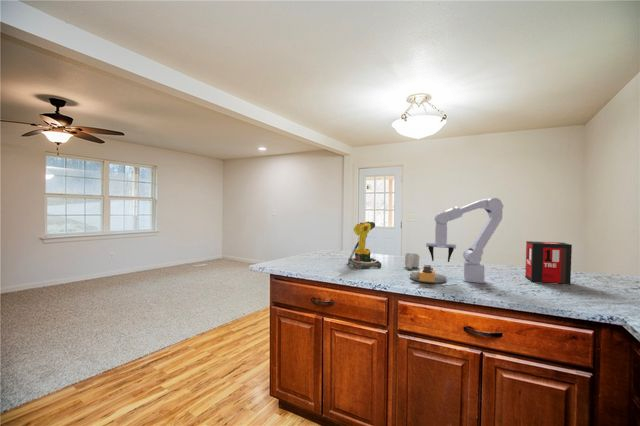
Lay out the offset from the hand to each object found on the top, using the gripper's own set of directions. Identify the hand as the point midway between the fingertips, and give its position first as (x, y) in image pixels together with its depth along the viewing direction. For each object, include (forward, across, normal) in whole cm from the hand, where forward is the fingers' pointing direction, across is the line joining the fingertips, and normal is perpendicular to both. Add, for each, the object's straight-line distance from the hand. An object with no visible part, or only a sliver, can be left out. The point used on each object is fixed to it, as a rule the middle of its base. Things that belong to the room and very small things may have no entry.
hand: (440, 261), depth 159 cm
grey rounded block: (+10, -17, +21) cm, 29 cm away
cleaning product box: (+10, +51, +17) cm, 55 cm away
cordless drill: (+10, -45, +18) cm, 49 cm away
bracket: (+8, -8, -10) cm, 15 cm away
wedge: (+8, -6, -10) cm, 14 cm away
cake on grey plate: (+9, -6, -3) cm, 12 cm away
